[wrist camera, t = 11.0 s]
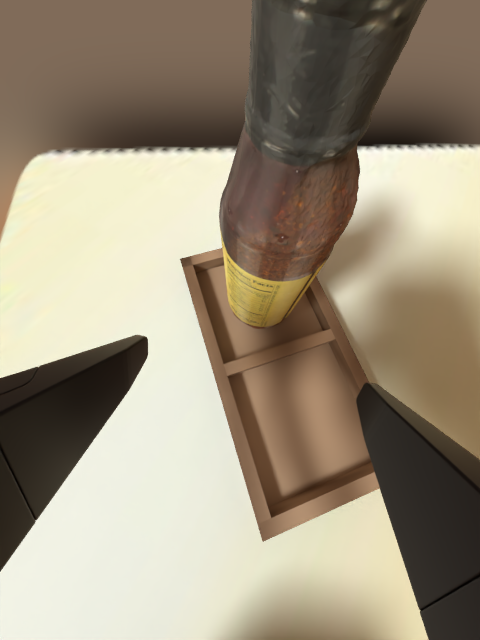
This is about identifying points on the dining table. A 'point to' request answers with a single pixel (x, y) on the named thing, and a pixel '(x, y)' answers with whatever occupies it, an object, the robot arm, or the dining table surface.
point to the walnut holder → (285, 401)
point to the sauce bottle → (302, 142)
